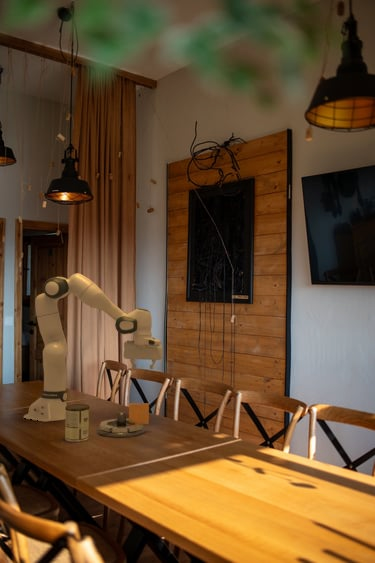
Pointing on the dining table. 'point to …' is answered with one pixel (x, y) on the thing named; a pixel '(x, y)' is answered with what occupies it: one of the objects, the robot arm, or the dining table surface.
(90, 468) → the dining table surface
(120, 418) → the grey disc with peg
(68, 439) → the coffee can
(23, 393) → the dining table surface
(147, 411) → the curved stand with block
